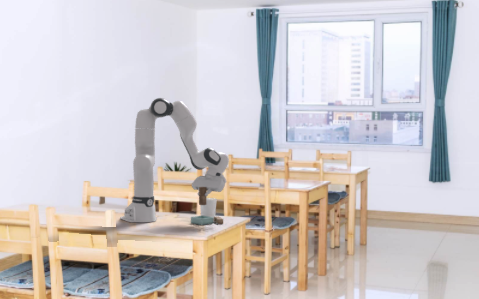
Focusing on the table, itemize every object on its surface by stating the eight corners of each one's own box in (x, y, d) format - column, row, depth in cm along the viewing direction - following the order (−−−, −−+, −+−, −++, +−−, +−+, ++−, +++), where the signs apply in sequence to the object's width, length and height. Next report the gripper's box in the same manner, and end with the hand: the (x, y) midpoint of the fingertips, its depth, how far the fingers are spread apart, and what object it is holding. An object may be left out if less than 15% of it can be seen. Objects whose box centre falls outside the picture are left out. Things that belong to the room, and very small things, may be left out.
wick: (213, 221, 349) (213, 216, 348) (218, 221, 349) (218, 216, 349) (218, 224, 339) (218, 219, 339) (223, 224, 340) (223, 219, 340)
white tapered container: (214, 220, 350) (214, 200, 350) (197, 219, 352) (198, 199, 352) (217, 218, 360) (218, 198, 359) (202, 217, 362) (202, 197, 361)
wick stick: (198, 204, 340) (199, 187, 339) (202, 204, 342) (202, 186, 342) (203, 205, 338) (203, 187, 338) (206, 204, 340) (206, 187, 340)
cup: (190, 223, 340) (191, 217, 340) (202, 221, 347) (202, 215, 347) (201, 225, 334) (201, 219, 334) (213, 223, 341) (213, 217, 340)
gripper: (196, 172, 351) (185, 190, 343) (224, 174, 339) (214, 193, 332) (200, 179, 355) (190, 197, 347) (229, 181, 343) (218, 200, 336)
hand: (202, 195), depth 339 cm, fingers closed on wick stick, 3 cm apart
